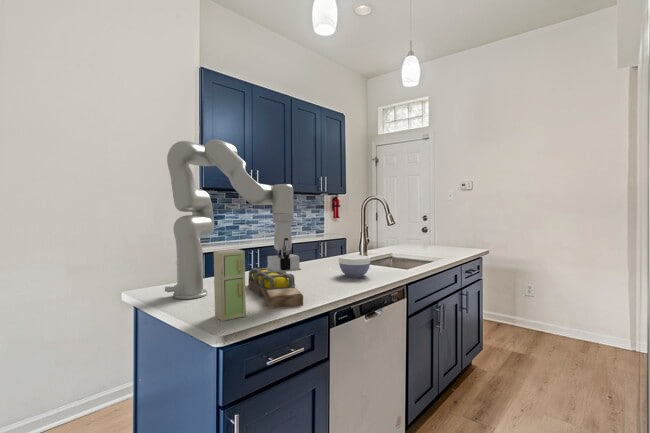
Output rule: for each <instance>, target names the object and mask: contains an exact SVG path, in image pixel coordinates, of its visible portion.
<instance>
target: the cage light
mask: <svg viewBox="0 0 650 433" xmlns="http://www.w3.org/2000/svg"><path fill="white" fill-rule="evenodd" d="M266 268H267V267H260V268H258V267H257V268H256V267H253V268H251V269H250V270H249V272H248V288H249V289H250V290H251V291H252V292H254V293H255V294H256V295H258V296H259V297H261V298H264V299H265V292H266V290H275V289H288V288H296V284H295V275H293V274H292V273H287V272H276V273H271V272H269V271H267V270H266Z"/></svg>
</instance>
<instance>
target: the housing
mask: <svg viewBox="0 0 650 433" xmlns="http://www.w3.org/2000/svg"><path fill="white" fill-rule="evenodd" d="M266 257H267V267H265V268H266V270H267V271H269V272H271V273H276V272H286V273H287V272H296V271H302V268H301V267H300V255H297V254H294V253H293V254H291V253H290V270H281V259H282V255H278V254H277V255H268V256H266Z"/></svg>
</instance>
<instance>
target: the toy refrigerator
mask: <svg viewBox="0 0 650 433" xmlns="http://www.w3.org/2000/svg"><path fill="white" fill-rule="evenodd" d="M245 253H246V251H245V250H243V249H238V248H232V249H221V250H213V277H214V281H213V282H214V283H213V284H214V286H213V287H214V315H215V317H216V318H217V319H218V320H220V321H221V322H224V321H225V322H226V321H229V320H234V319H239V318H244V317H246V316H247V315H246V314H247V313H246V312H247V310H246V309H247V308H246V262H245V261H246V256H245V255H246V254H245Z"/></svg>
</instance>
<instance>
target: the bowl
mask: <svg viewBox="0 0 650 433" xmlns="http://www.w3.org/2000/svg"><path fill="white" fill-rule="evenodd" d="M338 263H339V264H338V265H339V269H340V271H341V272H342V273H343V275H345V277H346V278H351V279H358V278H363V277H364V276H365V275H366V274H367V272H368V271H369V269H370V266H371V265H370V264H371V256H369V255H365V254H364V255H362V254H344V255H339V256H338Z"/></svg>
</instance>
